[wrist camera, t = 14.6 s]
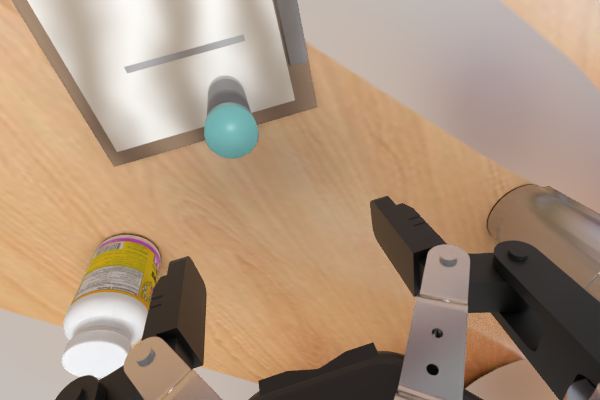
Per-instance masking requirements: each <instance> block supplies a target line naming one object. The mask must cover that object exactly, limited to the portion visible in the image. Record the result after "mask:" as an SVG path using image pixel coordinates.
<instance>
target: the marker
mask: <svg viewBox="0 0 600 400" xmlns="http://www.w3.org/2000/svg"><path fill="white" fill-rule="evenodd" d="M204 136H205V140H206V143H207V145H208V146H209V148H210V149H211V150H212V151H213V152H214V153H216V154H217V155H219V156H222V157H225V158H239V157H242V156H245V155H247V154H248V153H249V152H250V151H252V149H253V148H254V147H255V145H256V143H257V140H258V127H257V124H256V121H255V118H254V116H253V115H252V113H251V110H250V107H249V104H248V101H247V98H246V95H245V92H244V89H243V86H242V85H241V83H240V82H239V81H238V80H237V79H235V78H233V77H231V76H220V77H217V78H215V79H214V80H213V81H212V82H211V84H210V86H209V89H208V102H207V117H206V120H205V128H204Z"/></svg>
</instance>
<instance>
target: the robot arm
mask: <svg viewBox="0 0 600 400" xmlns="http://www.w3.org/2000/svg"><path fill="white" fill-rule="evenodd" d="M370 208H371V217H372V225H373V231H374V235H375V237H376V239H377V241H378V243H379V244H380V246H381V247H382V249H383V250H384V252H385V253H386V255H387V257H388V258H389V260H390V261H391V263H392V264H393V266H394V267H395V269H396V270H397V272H398V273H399V275H400V276H401V278H402V279H403V281H404V282H405V284H406V285H407V287H408V288H409V290H410V291H411V293H412V294H413V296H414V297H415V296H417V298H416V302H415V307H414V312H413V317H412V322H411V327H410V332H409V337H408V342H407V347H406V352H405V355H402V354H399V353H395V352H390V351H377V350H376V348H375V345H374V343H370V344H367V345H364V346H361V347H358V348H355V349H352V350H349V351H346V352H344V353H343V354H341V355H340V356H338V357H337V358H335V359H334V360H332V361H330V362H329V363H327V364H326V365H324V366H323V367H321V368H319V369H313V370H298V371H286V372H283V373H280V374H277V375H274V376H271V377H268V378H266V379H263V380H260V381H259V389H260V391H259V392H257V393H256V394H255V395H253V396H252V397H251V398H250V399H249V400H483V399H481V398H479V397H477V396H476V395H474V394H472V393H471V392H469V391H467V390H466V389H464V388H463V385H464V368H465V351H466V334H467V317H468V313H483V312H491V314H492V315H493V316H494V317H495V319H496V320H497V321H498V322H499V324H500V325H501V326H502V328H503V329H504V330H505V331H506V333H507V334H508V335H509V336H510V338H511V339H512V340H513V342H514V343H515V344H516V345H517V347H518V348H519V349H520V350H521V352H522V353H523V354H524V355H525V357H526V358H527V359H528V360H529V362H530V363H531V364H532V365H533V367H534V368H535V369H536V371H537V372H538V373H539V374H540V376H541V377H542V378H543V380H544V381H545V382H546V383H547V385H548V386H549V387H550V389H551V390H552V391H553V392H554V394H555V395H556V396H557V397H558V399H559V400H600V214H598V213H597V212H595V211H593V210H591V209H589V208H588V207H586V206H584V205H582V204H580V203H579V202H577V201H575V200H573V199H571V198H570V197H568V196H566V195H564V194H562V193H561V192H559V191H557V190H555V189H553V188H552V187H550V186H547V187H540V186H537V185H525V186H522V187H519V188H517V189H515V190H513V191H511V192H510V193H508V194H507V195H506V196H504V197H503V198H502V199H501V200H500V201H499V202H498V203H497V205H496V206H495V207H494V209H493V210H492V212H491V214H490V216H489V219H488V230H489V232H490V234H491V235H492V236H493V237H495V238H496V239H497V240H498V241H499V242H501V243H499V244H498V245H496V247H495V249H494V253H482V254H468V253H467V252H466V251H464V250H463V249H461V248H460V247H457V246H454V245H448V244H446V243H445V242H444V241H443V239H442V238H441V237H440V236H439V235H438V234H437V233H436V232H435V231H434V230H433V229H432V228H431V227H430V226H429V225H428V224H427V223H426V222H425V220H424V219H423V218H422V217H420V215H419V214H418V213H417V212H416V211H415V210H414V209H413V208H411V207H409V206H407V205H405V204H403V203H402V204H399V205H396V204H395V203H394V202H393V201H392V200H391V199H390V198H389V197H388V196H385V197H382V198H378V199H375V200H372V201H371V202H370ZM205 317H206V288H205V284H204V281H203V279H202V278H201V276H200V274H199V272H198V270H197V268H196V267H195V265H194V263H193V261H192V259H191V258H190V257H189V256H187V257H184V258H180V259H177V260H174V261H171V262H170V263H169V267H168V273H167V275H166V276H163V277H160V279H159V280H158V282H157V284H156V285H155V287H154V288H153V293H152V297H151V301H150V305H149V310H148V314H147V318H146V323H145V327H144V331H143V336H142V340H141V342H139V343H138V344H137V345H135V346H134V347H133V348H132V350H131V351H130V352H129V353H128V355H127V357H126V359H125V361H124V365H123V366H122V367H120V368H118V369H117V370H115V371H114V372H112V373H110V374H109V375H107V376H105V377H104V378H102V379H101V380H98V379H97V378H96V377H94V376H92V375H86V376H82V377H80V378H77V379H76V380H74V381H73V382H71V383H70V384H69V385H67V386H66V387H65V388H64V389H63V390H62V391H61V392H60V394H59V395H58V396H57V398H56V399H55V400H222V399H221V398H220V397H219V395H218V394H217V393H216V392H215V391H214V390H213V389H212V388H211V387H210V386H209V385H208V384H207V383H206V382H205V381H204V380H203V379H202V378H201V377H200V376H199V375H198V374H197V373H196V372H195V371H194V370H193V368H196V367H199V366H202V365H203V362H204V339H205Z"/></svg>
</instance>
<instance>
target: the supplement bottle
mask: <svg viewBox="0 0 600 400" xmlns="http://www.w3.org/2000/svg"><path fill="white" fill-rule="evenodd" d="M160 261H161V258H160V254H159V251H158V249H157V248H156V247H155V245H154V244H152V243H151V242H150V241H148V240H147V239H145V238H142V237H139V236H134V235H118V236H114V237H111V238H109V239H107V240H105V241H104V242H103V243H101V244H100V245H99V247H98V248H97V249H96V251H95V253H94V255H93V258H92V260H91V262H90V264H89V266H88V268H87V271H86V273H85V275H84V277H83V279H82V281H81V284H80V286H79V288H78V290H77V292H76V294H75V297H74V299H73V301H72V303H71V305H70V307H69V309H68V311H67V313H66V316H65V318H64V323H63V327H64V332H65V335H66V336H67V338H68V339H69V342H68V343H67V346H66V349H65V351H64V354H63V357H62V365H63V367H64V368H65V369H66V370H67V371H68V372H70V373H71V374H73V375H76V376H79V377H82V376H86V375H92V376H94V377H96V378H102V377H105V376H107V375H109V374H110V373H112V372H114V371H115V370H117V369H118V368H120V367H122V366H123V365H124V361H125V359H126V357H127V355H128V353H129V352H130V351H131V349H132V345H134V344H135V343H136V342H138V341H139V340H140V339H141V338H142V336H143V331H144V327H145V323H146V318H147V314H148V310H149V305H150V301H151V297H152V293H153V288H154V287H155V285H156V284H157V279H158V274H159V268H160Z"/></svg>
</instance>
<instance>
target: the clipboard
mask: <svg viewBox="0 0 600 400" xmlns="http://www.w3.org/2000/svg"><path fill="white" fill-rule="evenodd" d="M12 2H13V3H14V5H15V7H16V8H17V10H18V12H19V13H20V15H21V16H22V18H23V20H24V21H25V23H26V25H27V26H28V28H29V29H30V31H31V33H32V34H33V36H34V38H35V39H36V41H37V42H38V44H39V46H40V47H41V49H42V51H43V52H44V54H45V55H46V57H47V59H48V60H49V62H50V63H51V65H52V67H53V68H54V70H55V72H56V73H57V75H58V76H59V78H60V80H61V81H62V83H63V85H64V86H65V88H66V89H67V91H68V93H69V94H70V96H71V98H72V99H73V101H74V102H75V104H76V106H77V107H78V109H79V111H80V112H81V114H82V115H83V117H84V119H85V120H86V122H87V124H88V125H89V127H90V128H91V130H92V132H93V133H94V135H95V137H96V138H97V140H98V141H99V143H100V145H101V146H102V148H103V150H104V151H105V153H106V154H107V156H108V158H109V159H110V161H111V162H112V164H113V166H114V167H116V166H119V165H122V164H126V163H129V162H133V161H136V160H139V159H143V158H146V157H150V156H153V155H156V154H160V153H163V152H166V151H170V150H173V149H177V148H180V147H183V146H187V145H190V144H194V143H197V142H200V141H204V140H205V136H204V128H205V120H206V117H207V102H208V89H209V86H210V84H211V82H212V81H213V80H214V79H215V78H217V77H220V76H231V77H233V78H235V79H237V80H238V81H239V82H240V83H241V85H242V86H243V89H244V92H245V95H246V98H247V101H248V104H249V107H250V110H251V113H252V115H253V116H254V118H255V121H256V124H257V125H258V124H261V123H265V122H268V121H272V120H275V119H278V118H282V117H285V116H289V115H292V114H295V113H299V112H302V111H305V110H309V109H312V108H316V107H317V103H316V98H315V93H314V88H313V82H312V77H311V72H310V67H309V60H308V55H307V50H306V45H305V39H304V34H303V29H302V24H301V19H300V13H299V8H298V3H297V0H12Z"/></svg>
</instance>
